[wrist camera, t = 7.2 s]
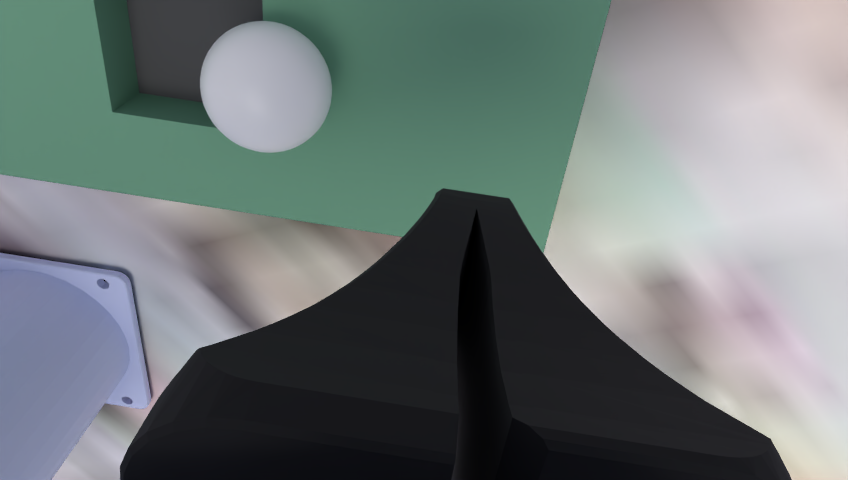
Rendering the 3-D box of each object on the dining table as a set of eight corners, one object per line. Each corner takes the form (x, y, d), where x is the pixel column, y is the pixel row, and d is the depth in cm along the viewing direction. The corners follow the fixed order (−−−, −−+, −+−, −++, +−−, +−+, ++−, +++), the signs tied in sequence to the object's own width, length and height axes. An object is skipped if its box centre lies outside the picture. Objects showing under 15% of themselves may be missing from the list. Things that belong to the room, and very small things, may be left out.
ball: (345, 167, 17) (326, 111, 20) (337, 42, 15) (316, -1, 18) (214, 184, 17) (212, 124, 19) (185, 55, 14) (188, 8, 17)
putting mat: (9, 146, 24) (-29, 169, 22) (-89, -214, 17) (-152, -220, 16) (538, 228, 23) (541, 258, 21) (626, -113, 17) (640, -108, 15)
